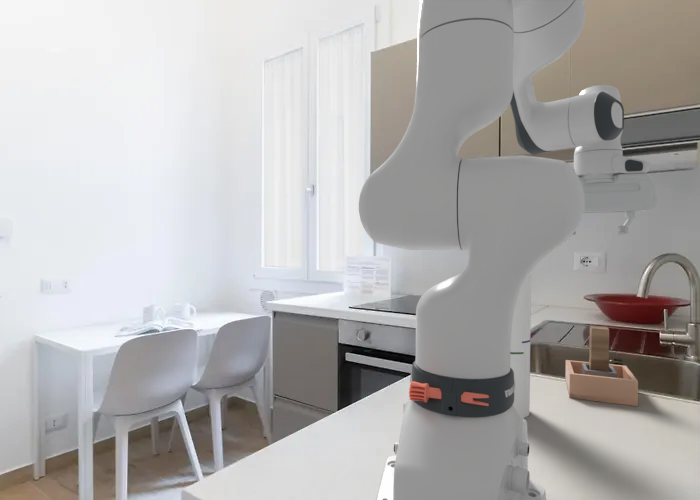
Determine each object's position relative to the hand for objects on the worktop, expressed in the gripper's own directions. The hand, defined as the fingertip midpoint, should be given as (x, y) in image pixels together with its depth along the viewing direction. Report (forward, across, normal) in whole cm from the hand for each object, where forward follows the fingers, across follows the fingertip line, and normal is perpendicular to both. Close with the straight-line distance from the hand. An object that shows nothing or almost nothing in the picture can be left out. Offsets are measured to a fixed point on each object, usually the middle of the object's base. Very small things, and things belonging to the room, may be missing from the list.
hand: (596, 234), depth 91 cm
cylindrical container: (+31, -16, -23) cm, 42 cm away
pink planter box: (+31, 0, -6) cm, 32 cm away
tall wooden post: (+30, 0, -6) cm, 31 cm away
